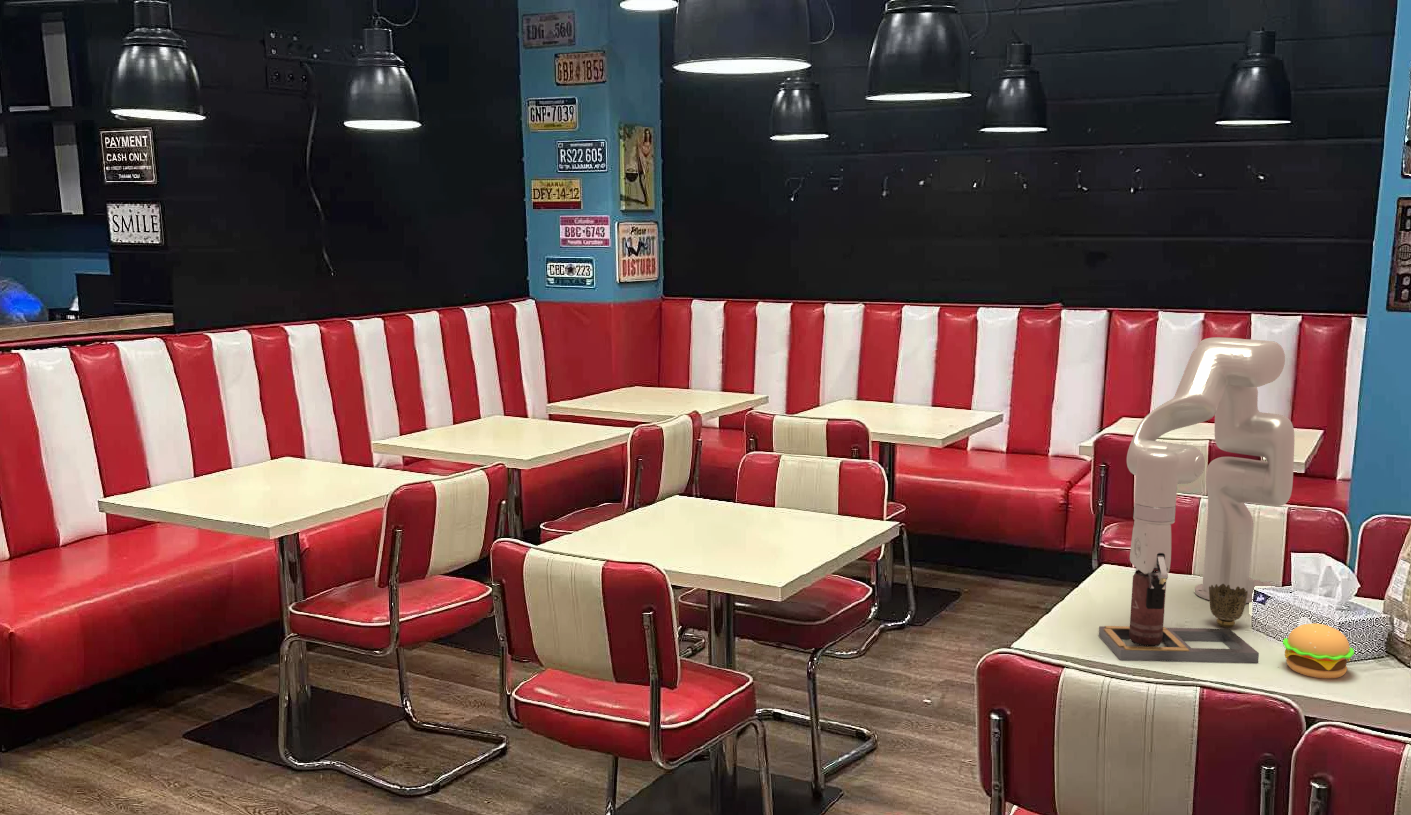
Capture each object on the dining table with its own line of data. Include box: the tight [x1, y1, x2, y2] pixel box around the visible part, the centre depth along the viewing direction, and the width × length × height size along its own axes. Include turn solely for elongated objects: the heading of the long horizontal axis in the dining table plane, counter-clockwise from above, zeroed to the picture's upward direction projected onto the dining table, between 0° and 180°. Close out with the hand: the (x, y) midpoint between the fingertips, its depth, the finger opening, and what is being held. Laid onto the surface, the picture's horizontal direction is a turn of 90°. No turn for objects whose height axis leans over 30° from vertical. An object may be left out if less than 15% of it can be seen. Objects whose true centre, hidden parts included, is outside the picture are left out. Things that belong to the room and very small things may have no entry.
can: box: [1129, 570, 1167, 647], centre depth 238 cm, size 6×6×14 cm
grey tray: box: [1098, 625, 1260, 664], centre depth 239 cm, size 26×14×2 cm, turn 88°
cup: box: [1208, 584, 1248, 629], centre depth 253 cm, size 8×7×8 cm
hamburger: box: [1282, 622, 1355, 680], centre depth 228 cm, size 12×12×9 cm
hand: (1148, 602), depth 238 cm, fingers closed on can, 6 cm apart
